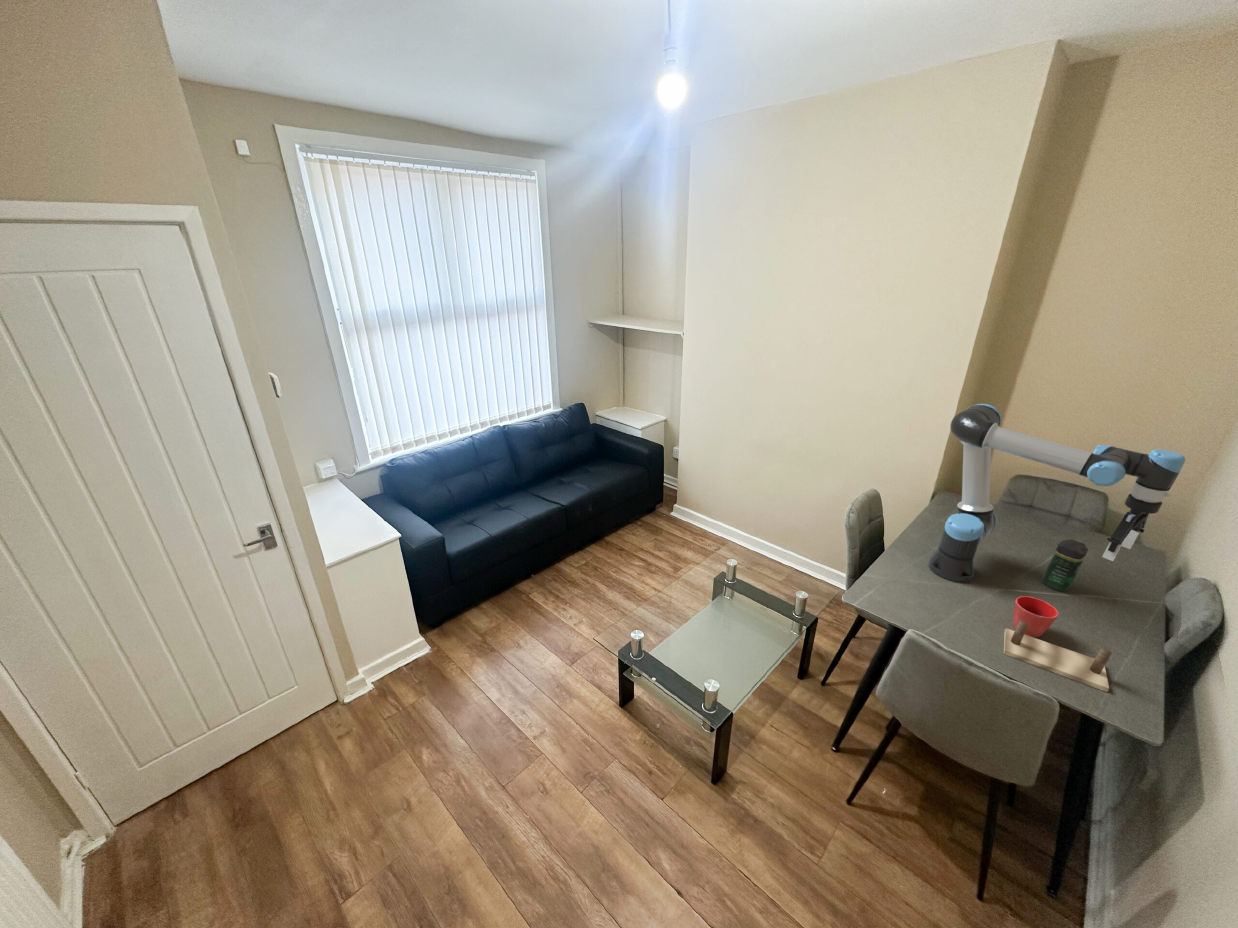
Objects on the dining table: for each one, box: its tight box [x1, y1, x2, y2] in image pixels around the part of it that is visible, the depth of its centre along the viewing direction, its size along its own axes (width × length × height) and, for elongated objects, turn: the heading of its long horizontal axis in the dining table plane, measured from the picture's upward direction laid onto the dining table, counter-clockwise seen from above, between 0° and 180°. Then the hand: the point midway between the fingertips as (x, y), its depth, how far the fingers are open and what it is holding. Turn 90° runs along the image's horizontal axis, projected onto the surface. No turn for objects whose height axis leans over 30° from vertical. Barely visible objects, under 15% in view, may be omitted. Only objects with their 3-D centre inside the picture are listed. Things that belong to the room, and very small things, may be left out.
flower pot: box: [1012, 595, 1060, 638], centre depth 157 cm, size 11×11×10 cm
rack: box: [1003, 621, 1113, 693], centre depth 145 cm, size 24×12×10 cm, turn 52°
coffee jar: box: [1041, 538, 1089, 592], centre depth 175 cm, size 10×8×19 cm
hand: (1116, 552), depth 157 cm, fingers open, 13 cm apart
